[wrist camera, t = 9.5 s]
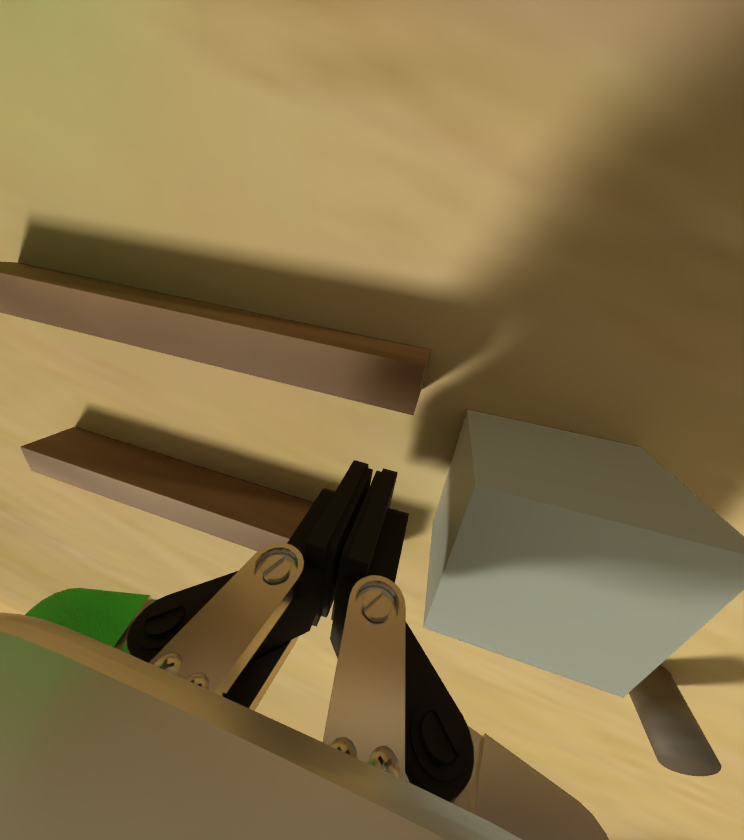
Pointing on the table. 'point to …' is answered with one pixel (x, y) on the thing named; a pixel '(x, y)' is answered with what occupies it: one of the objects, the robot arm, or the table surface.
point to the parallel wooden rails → (233, 498)
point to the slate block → (573, 553)
